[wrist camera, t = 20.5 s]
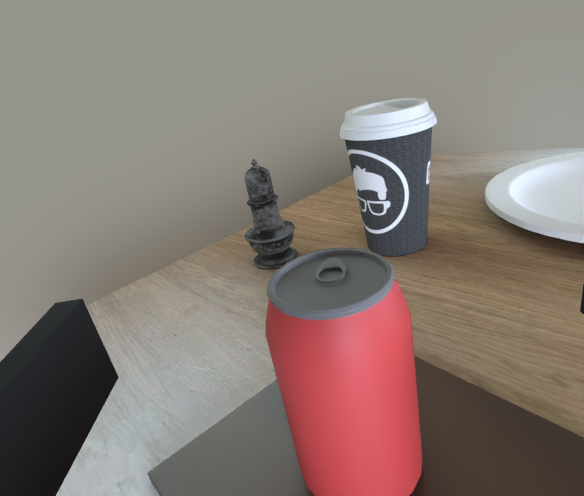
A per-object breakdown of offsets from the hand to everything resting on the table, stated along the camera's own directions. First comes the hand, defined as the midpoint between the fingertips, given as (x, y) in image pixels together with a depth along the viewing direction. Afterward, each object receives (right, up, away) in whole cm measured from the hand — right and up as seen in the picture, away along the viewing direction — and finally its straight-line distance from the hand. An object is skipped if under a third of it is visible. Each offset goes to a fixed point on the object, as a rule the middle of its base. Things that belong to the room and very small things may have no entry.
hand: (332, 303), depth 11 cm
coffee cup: (+11, +2, +37) cm, 39 cm away
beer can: (+3, -11, +12) cm, 16 cm away
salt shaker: (-3, 0, +39) cm, 39 cm away
